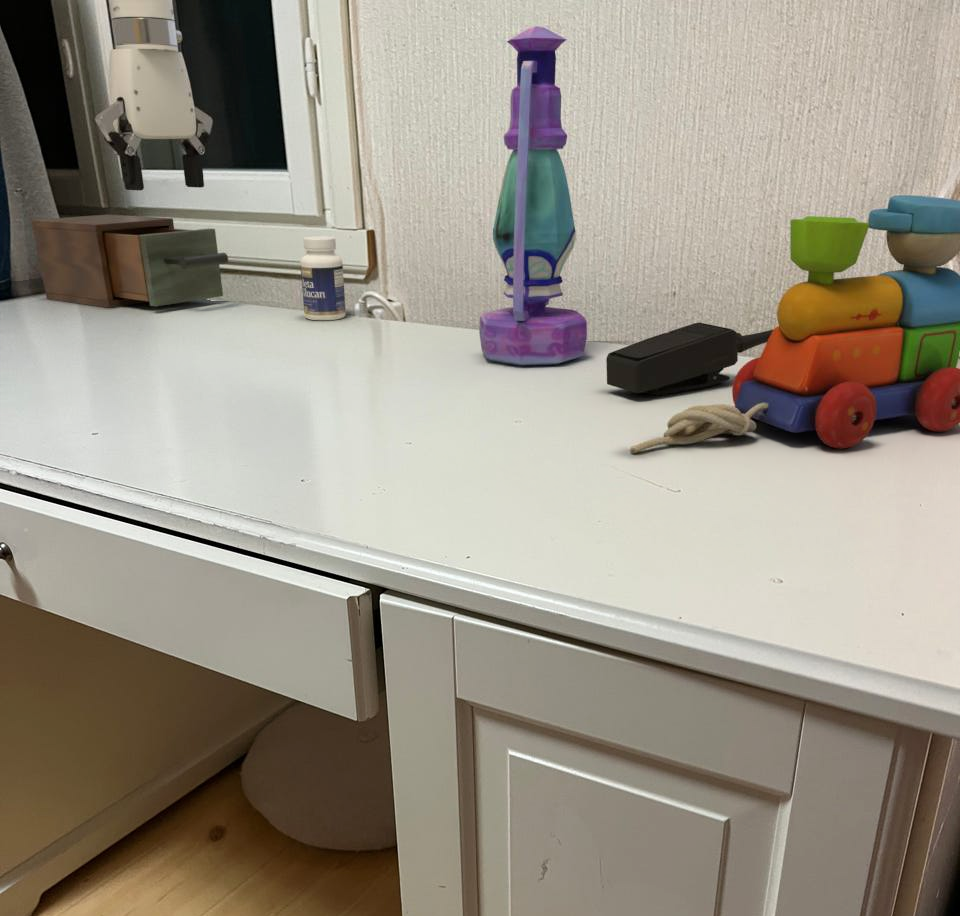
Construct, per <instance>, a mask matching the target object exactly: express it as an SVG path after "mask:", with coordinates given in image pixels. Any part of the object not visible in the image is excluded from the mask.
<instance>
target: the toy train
mask: <svg viewBox="0 0 960 916" xmlns="http://www.w3.org/2000/svg"><path fill="white" fill-rule="evenodd" d="M869 229H872V230H875V231H876V230H877V231H886V244H887V249H888V251H889V253H890V255H891V257H892V258H893V259H894V260H895V261H896V262H897V263H898V264H900V265H903V267H902V269H898V270H889V271H884V272H882V273H879V274H877V275H866V276H856V277H844V278H835V273H843V272H844V271H846V270H848V269H849V268H851V267H852V266H854V265H855V264H856V263H857V262H858V259H859V257H860V256H859V255H860V253H861V250H862V248H863V244H864V242H865V239H866V236H867V234H868V231H869ZM789 234H790V238H789V239H790V245H789V246H790V247H789V249H790V251H789V252H790V255H789V256H790V260H791V262H792V263H794V264H795V265H796V267H798V268H799V269H800V270H801V271H805V272H808V273H807V274H808V276H807V281H802V282H798V283H796V284H794V285H792V286H791V287H789V288H788V289H787V290H786V291H785V292H784V293H783V295H782V297H781V298H780V299H779V303H778V306H777V311H776V319H777V324H778V326H775V327H773V329H774V330H773V329H772V330H773V331H772V333H771V335H770V337H769V339H768V341H767V342H766V343H765V346H764V348H763V350H762V351H761V354H760V356H759V357H755V358H753V359H751V360H749V361H747V362H746V363H745V364H743V366H742V367H741V368H740V369H739V370H738V372H737V373H736V374H735V377H734V380H733V383H732V389H731V394H732V402H733V404H734V405H731V404H724V403H723V404H721V403H719V404H710V405H694V406H690V407H688V408H685V409H683V410H682V411H680V412H678V413H675V414H674V415H672V416H671V418H670V419H669V420H668V421H667V424H666V425H667V429H666V430H665V432H664V433H663V437H656V438H652V439H650V440H647V441H644V442H640V443H638V444H635V445H633V446H631V447H630V448H629V453H630V454H637V453H639V452H642V451H645V450H647V449H651V448H653V447H657V446H662V445H680V446H685V445H692V444H693V445H694V444H695V443H699V442H703V441H704V440H705V441H706V440H707V439H710V438H712V437H715V436H717V435H721V434H723V433H724V434H725V433H726V434H731V435H733V436H742V435H745V434H746V433H747V434H748V433H752V432H754V431H755V430H756V429H757V423H756V422H755V420H757V421H760V422H763V423H766V424H768V425H771V426H773V427H776V428H779V429H780V430H784V431H786V432H790V433H803V432H809V431H816V434H817V435H818V438H819V439H820V440H821V441H822V442H823V444H825V445H826V446H828V447H830V448H833V449H839V450H842V449H850V448H851V447H855V446H856V445H858V444H859V443H861V442H862V441H863V440H864V439H865V438H866V437H867V435H868V434H869V432H871V430H872V428H873V426H874V424H875V421H878V420H884V419H891V418H897V417H904V416H910V415H915V416H916V418H917V420H918V422H919V423H920V425H921V426H922V427H923V428H925V429H926V430H929V431H930V432H937V433H939V432H941V433H942V432H946V431H949V430H951V429H954V428H955V427H957V426H958V425H959V424H960V368H959V367H957V366H958V363H959V359H960V274H959V273H958V272H957V271H955V270H953V269H951V268H948V267H943V266H945V265H946V264H948V263H949V262H950V261H952V260H953V259H954V258H955V257H956V256H957V255H958V254H959V253H960V200H957V199H950V198H945V197H938V196H937V197H936V196H928V195H927V196H925V195H910V194H899V195H897V194H896V195H893V196H890V197H889V199H888V203H887V208H877V209H872V210H870V211H869V213H868V220H867V222H864V221H863V222H862V221H858V220H857V219H856V218H855V217H839V216H838V217H837V216H814V215H807V216H805V217H804V218H791V219H790V233H789ZM751 418H752V419H755V420H752V419H751Z"/></svg>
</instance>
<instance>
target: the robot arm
mask: <svg viewBox="0 0 960 916" xmlns="http://www.w3.org/2000/svg"><path fill="white" fill-rule="evenodd" d="M108 5H109V12H110V19H111V25H112V32H113V40H114V46H115V48H114V49H112V48H111V49H109V61H108V80H109V81H108V85H109V99H110V100H109V101H110V105H109V106H108V107H106V108H105V109H104V110H102V111H101V112H99V113H98V114H97V115H95V117H94V120H95V123H96V125H97V127H98V128H99V130H100V132H101V134H103V137H104V138H103V139H104V140H105V142H106V143H107V144H108V145H109V146H110V147H111V148H112V150H113V153H114V154H115V155H116V156H118V158H119V163H120V170H121V177H122V182H123V185H124V189H125V190H126V191H143V190H144V189H145V183H144V177H143V170H142V163H141V158H140V156H139V155H135V154H136V152H137V149H138V148H139V145H140V143H141V142H142V140H176V141H177V143H178V144H179V146H180V147H181V148H182V149H183V151H184V152H185V153H184V154H182V156H181V157H182V168H183V175H184V183H185V186H186V187H187V188H200V189H201V188H204V187H205V180H204V179H205V178H204V170H203V169H204V168H203V160H202V159H203V158H202V155H204V154H205V152H206V149H205V148H206V147H207V145H208V143H209V141H210V139H211V137H210V134H211V132H212V127H213V123H214V122H213V118H212V117H211V116H210V115H208V114H207V113H205V112H204V111H202V110H201V109H199V108H198V107H196V106H195V102H194V98H193V91H192V87H191V81H190V77H189V74H188V70H187V66H186V62H185V59H184V56H183V53H182V51H179V46H178V45H179V44H178V43H181V42H182V41H183V35H182V32H181V31H180V30H177V28H176V21H175V14H174V5H173V0H108Z"/></svg>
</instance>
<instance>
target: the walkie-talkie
mask: <svg viewBox="0 0 960 916" xmlns="http://www.w3.org/2000/svg"><path fill="white" fill-rule="evenodd" d="M773 330H774V328H773V329H769V330H764V331H760V332H757V333H750V334H745V335H742V334H741V333H740V332H737V331H736V330H735V329H732V328H729V327H723V326H718V325H714V324H709V323H705V322H704V323H703V322H695V323H691V324H688V325H684V326H682V327H679V328H676V329H673V330H670V331H668V332H663V333H661V334H657V335H654V336H652V337H648V338H646V339H643V340H640V341H638V342H635V343H632V344H630V345H626V346H624V347H622V348H621V347H620V348H619V349H616V350H613V351H610V352H608V353H607V356H606V359H605V360H606V385H609V386H611V387H615V388H619V389H622V390H625V391H628V392H631V393H635V394H641V393H645V394H648V395H652V396H661V395H668V394H674V393H679V392H686V391H691V390H698V389H702V388H708V387H711V386H715V385H717V384H720V383H724V382H727V381H730V379H731V377H730V376H729V375H725V374H722V373H721V372H722V371H724V369H726V368H729V367H732V366H735V365H736V364H737V362H738V361H739V357H738V356H739V354H741V353H744V352H746V351H748V350H750V349H753V348H754V347H757V346H760V345H763V344H766V343H767V341H768V339H769V337H770V335H771V333H772V331H773Z"/></svg>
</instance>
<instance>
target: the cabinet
mask: <svg viewBox="0 0 960 916" xmlns="http://www.w3.org/2000/svg"><path fill="white" fill-rule="evenodd" d="M30 223H31V227H32V232H33V238H34V242H35V243H34V244H35V248H36V253H37V258H38V263H39V268H40V272H41V273H40V274H41V277H42V283H43V287H44V293H45V296H46V297H45V298H46V300H52V301H53V300H54V301H58V302H59V301H60V302H66V303H73V304H79V305H86V306H92V307H99V308H106V309H112V308H113V309H114V308H118V307H125V306H133V305H141V304H146V303H149V301H141V300H134V299H127V298H119V297H113V295H112V289H111V283H110V278H109V272H108V266H107V260H106V254H105V248H104V243H103V237H102V232H101V231H111V230H123V229H135V228H146V227H156V228H171V229H175V225H174V224H175V223H174V219H173V218H172V217H157V216H155V217H154V216H139V215H138V216H137V215H123V214H121V215H120V214H96V215H83V216H70V217H58V218H57V217H55V218H41V219H31V220H30Z"/></svg>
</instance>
